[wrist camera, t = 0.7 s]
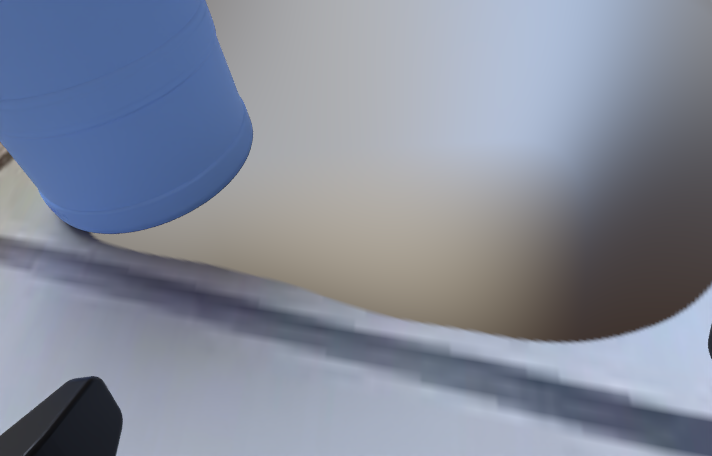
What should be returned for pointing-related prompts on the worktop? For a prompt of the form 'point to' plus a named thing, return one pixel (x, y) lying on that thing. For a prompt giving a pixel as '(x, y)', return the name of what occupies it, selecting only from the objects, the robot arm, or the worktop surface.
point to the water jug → (119, 108)
